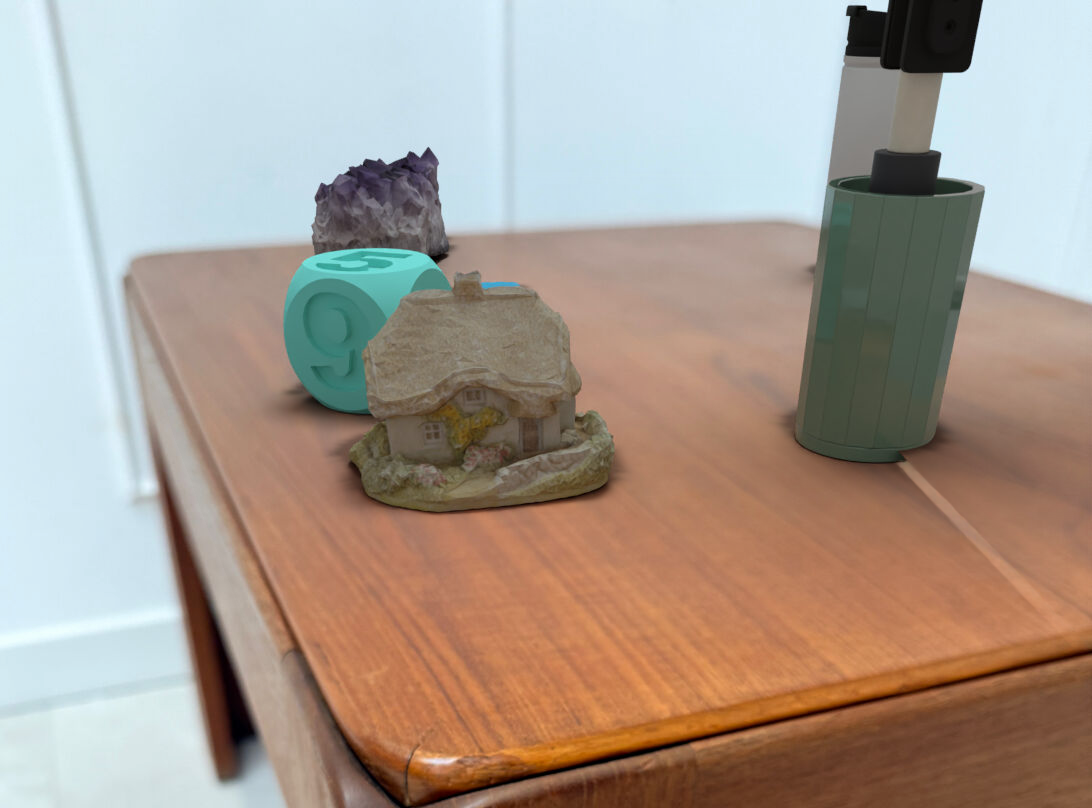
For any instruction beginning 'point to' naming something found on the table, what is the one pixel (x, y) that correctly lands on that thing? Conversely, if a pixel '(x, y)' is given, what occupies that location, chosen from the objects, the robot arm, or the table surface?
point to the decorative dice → (347, 316)
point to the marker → (910, 139)
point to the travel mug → (862, 97)
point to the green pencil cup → (884, 316)
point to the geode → (382, 208)
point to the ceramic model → (477, 404)
